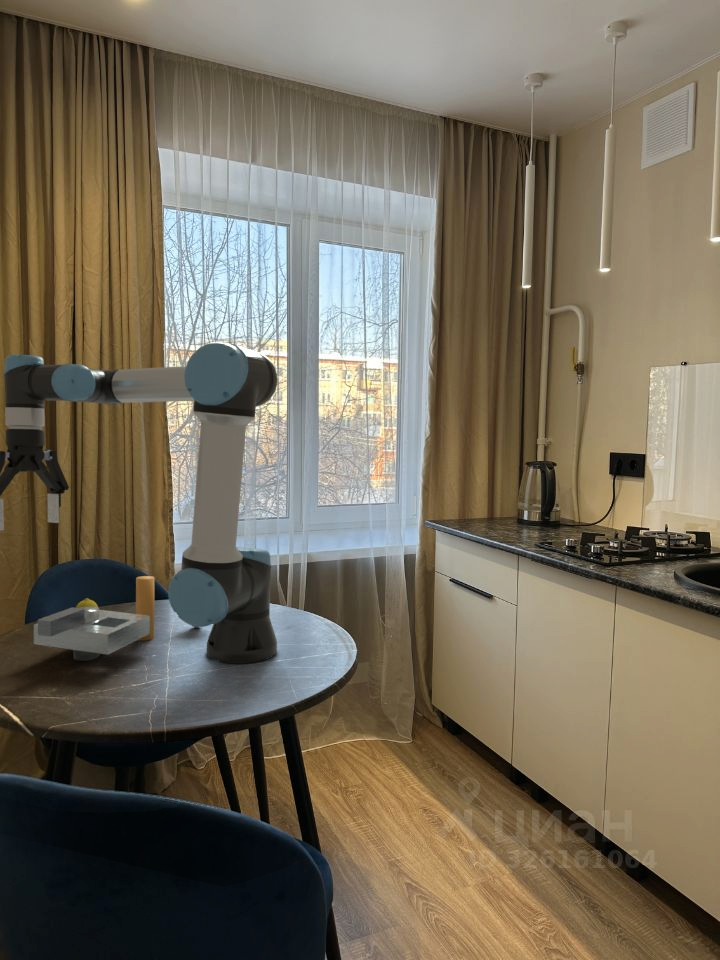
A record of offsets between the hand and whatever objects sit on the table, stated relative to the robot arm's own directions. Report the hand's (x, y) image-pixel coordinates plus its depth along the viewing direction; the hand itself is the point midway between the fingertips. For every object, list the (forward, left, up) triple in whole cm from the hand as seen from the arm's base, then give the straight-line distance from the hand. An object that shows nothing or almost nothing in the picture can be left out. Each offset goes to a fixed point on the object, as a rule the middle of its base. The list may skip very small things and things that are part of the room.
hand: (26, 526), depth 143 cm
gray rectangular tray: (-19, +5, -26) cm, 33 cm away
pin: (-21, -13, -26) cm, 36 cm away
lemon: (-6, -12, -26) cm, 30 cm away
